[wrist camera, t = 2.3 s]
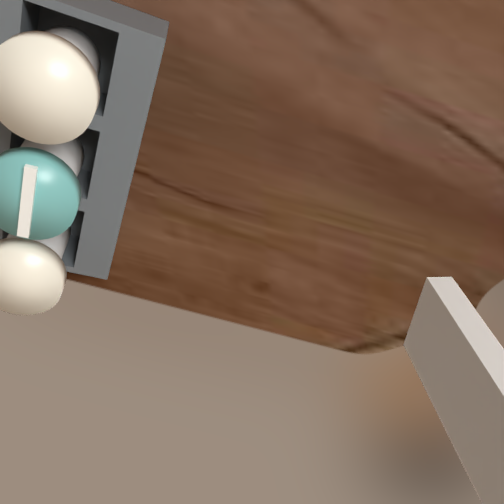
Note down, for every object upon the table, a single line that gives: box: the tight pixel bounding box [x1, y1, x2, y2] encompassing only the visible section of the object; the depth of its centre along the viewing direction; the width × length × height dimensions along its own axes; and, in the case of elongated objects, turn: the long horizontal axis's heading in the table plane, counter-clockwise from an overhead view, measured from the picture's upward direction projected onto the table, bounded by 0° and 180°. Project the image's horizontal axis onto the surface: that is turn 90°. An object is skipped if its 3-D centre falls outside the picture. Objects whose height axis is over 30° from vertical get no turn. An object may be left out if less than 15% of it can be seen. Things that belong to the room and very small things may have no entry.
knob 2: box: [0, 226, 71, 315], centre depth 31 cm, size 5×5×6 cm
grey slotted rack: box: [0, 0, 169, 280], centre depth 32 cm, size 10×18×5 cm, turn 160°
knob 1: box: [0, 25, 101, 145], centre depth 25 cm, size 5×5×6 cm
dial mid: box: [0, 138, 84, 240], centre depth 28 cm, size 5×5×7 cm
